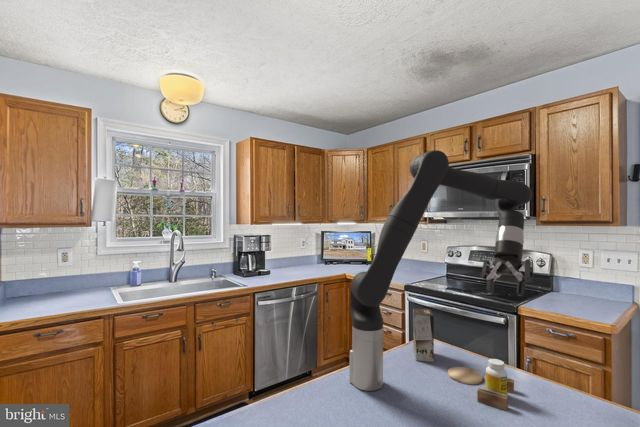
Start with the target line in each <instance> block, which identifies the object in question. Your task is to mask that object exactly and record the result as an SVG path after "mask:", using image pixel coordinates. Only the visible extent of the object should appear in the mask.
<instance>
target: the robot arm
mask: <svg viewBox="0 0 640 427" xmlns="http://www.w3.org/2000/svg"><path fill="white" fill-rule="evenodd" d="M449 164H450V162H449V157H448V156H447V154H446V153H444V151H441V150H438V149H437V150H435V149H434V150H429V151H426V152H423V153H421V154H419V155H417V156H415V157H414V158H413V159H412V160H411V162H410V164H409V171H410V172H409V173H410V174H411V176H412V178H414V180H413V181H412V183H411V185H410V187H409V189H408V190H407V191H406V193H404V195H402V197H401V198H400V199H399V200H398V201H397V203H396V204H395V205H394V206H393V207H392V209H391V211H390V212H389V214H388V216H387V218H386V220H385V222H384V224H383V226H382V228H381V231H380V234H379V237H378V243H377V248H376V253H375V256H374V257H373V260H372V262H371V263H370V265H369V267H368V269H367V271H360V272H358V273H356V274H355V275H354V276H353V278H352V280H351V281H350V282H351V283H350V290H349V291H350V292H349V293H350V294H349V295H350V296H349V297H350V298H349V300H350V315H351V323H352V324H351V325H352V326H351V328H352V331H351V332H352V333H351V334H352V337H351V338H352V339H351V340H352V341H351V343H352V345H351V347H352V348H351V349H350V350H349V365H348V366H349V372H348V373H349V374H348V376H349V380H348V381H349V383H351V384H352V385H353V386H354V387H355V388H357V389H358V390H362V391H366V392H367V391H369V392H371V391H372V392H373V391H378V390H380V389H381V388H383V386H384V318H383V315H382V312H381V308H380V304H381V303H382V302H383V301H384V300H385V298H386V296H387V294H388V291H389V288H390V285H391V283H392V280H393V277H394V275H395V273H396V270H397V268H398V265H399V263H400V261H401V260H402V257H403V256H404V254H405V252H406V250H407V248H408V246H409V244H410V242H411V240H412V239H413V237H414V234H416V230H417V229H418V226H419V224H420V222H421V220H422V218H423V217H424V216H423V215H424V214H425V212H426V210H427V208H428V205H429V204H430V201H431V200H432V197H433V195H434V194H435V193H436V191H437V190H438V188H439V187H440V186H445V187H448V188H453V189H456V190H458V191H459V190H460V191H462V192H465V193H469V194H471V195H475V196H477V197H480V198H483V199H486V200H490V201H494V200H495V203H496V208H497V214H498V217H499V218H498V225H497V226H498V227H497V232H496V236H495V244H494V245H495V246H494V253H493V254H494V259H493V261H492V260H487V259H484V260H483V263H482V269H481V274H480V277H481V278H482V279H484V280H486V286H485V289H486V291H487V293H488V294H489V295H490V294H491V295H493V294H494V292H495V281H496V280H497V279H499V278H500V277H501V276H511V277H512V276H514V277H515V278H516V279H517V282H516V291H515V293H516V295H517V296H519V297H523V295H525V292H526V284H527V283H529V282H530V283H533V282H534V263H533V262H532V261H531V260H530V259H525V260H523V254H524V251H523V250H524V244H525V240H524V239H525V236H524V229H525V215H524V214H523V212H521V211H519V210H516V208H518V207H520V206H524V205H525V204H527V203H529V202H530V201H531V200H532V198H533V191H532V188H530V187H529V186H528V185H527V184H525V183H523V182H520V181H515V180H509V179H508V180H507V179H498V178H495V177H493V176H490V175H487V174H483V173H482V172H481V173H480V172H474V171H470V170H462V169H458V168H454V167H453V168H452V167H450V166H449ZM522 267H523V268H524V275H523V273H522V272H521V271H520V270H521V268H522Z"/></svg>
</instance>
